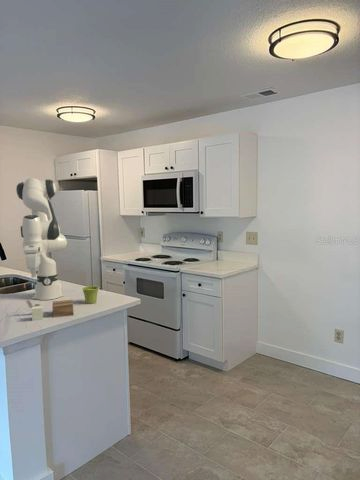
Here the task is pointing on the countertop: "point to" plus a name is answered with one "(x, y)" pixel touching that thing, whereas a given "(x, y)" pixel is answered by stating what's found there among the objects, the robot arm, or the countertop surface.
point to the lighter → (31, 304)
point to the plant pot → (90, 294)
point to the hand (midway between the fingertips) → (35, 275)
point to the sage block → (37, 313)
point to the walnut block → (62, 308)
